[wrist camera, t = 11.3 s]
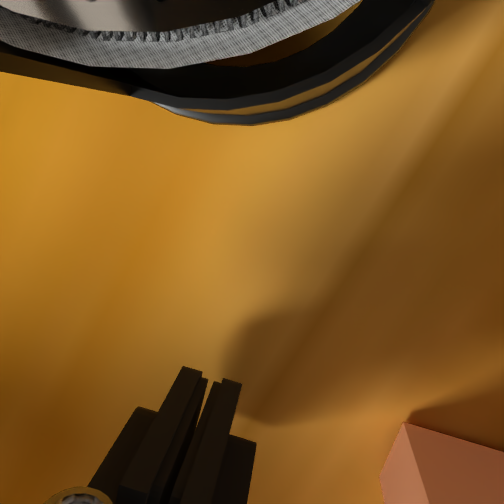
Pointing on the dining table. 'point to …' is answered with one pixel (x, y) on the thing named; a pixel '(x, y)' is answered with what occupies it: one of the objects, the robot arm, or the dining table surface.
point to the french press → (205, 51)
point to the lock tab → (441, 470)
